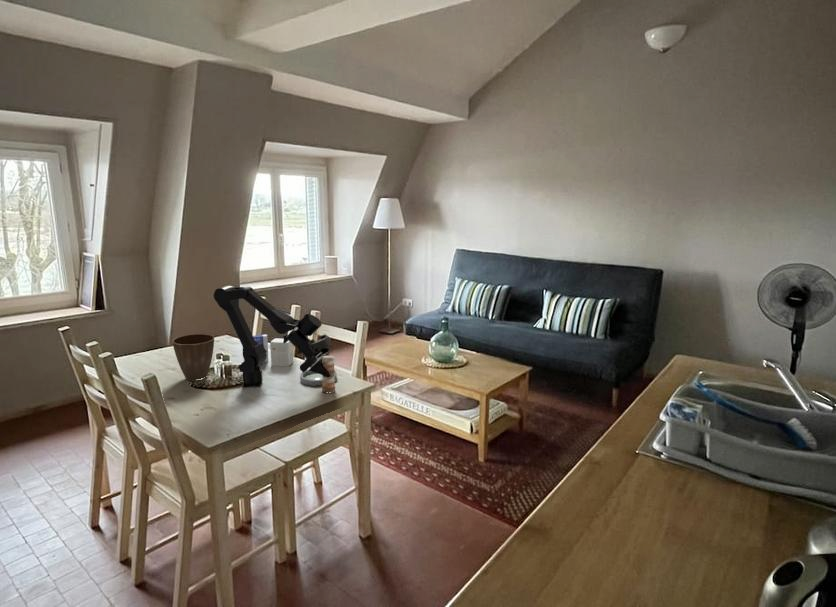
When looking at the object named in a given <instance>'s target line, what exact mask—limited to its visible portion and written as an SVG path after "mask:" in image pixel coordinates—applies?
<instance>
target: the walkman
mask: <svg viewBox="0 0 836 607" xmlns="http://www.w3.org/2000/svg"><path fill="white" fill-rule="evenodd" d="M252 336H253V338H254V340H255V341H256V342H257V343H258V344H260V343H263V345H264V348H265V350H266V351H267V352H266V354H267V357H266V360H265V361H264V362H263V363H268V362H269V347H268V346H269V338H268V334H258V335H252Z"/></svg>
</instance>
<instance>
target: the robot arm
mask: <svg viewBox="0 0 836 607" xmlns="http://www.w3.org/2000/svg"><path fill="white" fill-rule="evenodd" d="M213 299H214V301H215V302H216V304H217V305H218V307H219V308H221V309H222V311H224V312H225V313H226V315H227V316H228V319H229V322H230V323H231V325H232V327H233V329H234V331H235V333H236V335H237V337H238V340H239V342H240V344H241V346H242V358H243V361H242V362H241V364H240V365H239V366H238V369H239V372H240V373H242V386H241V387H243V388H246V387H247V388H248V387H249V388H250V387H252V388H253V387H261V385H262V383H263V380H264V379H263V378H264V377H263V370H261V367H262V366H263V363H265V362H264V361H265V360H266V357H267V354H266V352H267V351H266V350H265V348H264V345H263V343H260V344H258V343H257V342H256V341H255V340H254V338H253V336H254V335H253V333H252V331H251V330H250V327H249V326H248V323H247V321H246V319H245V317H244V314H243V313H242V311H241V308H240V300H244V301H245V302H247V303H248V304H249V305H250V306H251V307H252V308H254V309H256V310H257V311H258V312H259V313H260V314H261V315H262V316H263V317H265V318H266V319H267V320H268V322H269V323H270V324H269V325H270V326H271V327H272V328H273V330H274V331H275V332H276V333H277V334H280V335H283V339H284V340H283V343H286V342H288V341H290V342H291V343H292V344H293V346H294V348H295V349H296V350H297V355H302V356H303V357H304V359H305V360H304V361H303V362H302V363H301V364H300V365H299V370H300V371H301V373H302V372H303V373H304V372H305V371H307V370H308V371H312V372H315V373H318V374H321V375H323V376H326V377H330V376H331V375H330V374H329V372H328V371H327V370H326V368H325V367H324V366H323V364H322V357H324V356H330V352H331V350H332V348H333V347H332V346H331V345H332V342H331V337H329V335H327V334H326V333H324V334H322V335H321V336H320V339H318V340H315V339H313V338H312V339H310V338H309V337H311V336H312V335H313V334H315V332H317V330H319V329H320V328H321V327H322V325H323V323H322V321H321V320H320V319H319V318H318V317H317V316H315V315H313V314H311V313H310V312H307V313H306V314H305V315H304V316H303V317H302V318H301V319H297V318H293V316H291V315H289V314H288V313H286V312H285V311H281V310H279V309H277V308H276V307H275V306H273V305H272V304H271V303H270V302H268V301H267V300H266V299H265V298H263V297H262V296H261V295H260V294H258V292H256V291H255V290H254V288H253V287H251V286H237V287H236V286H235V287H234V286H232V285H228V284H227V285H225V286H221V287H218V288H216V289H215V291H214V292H213ZM295 329H296V330H295ZM287 333H288V334H287ZM335 370H336V369H334V372H335Z"/></svg>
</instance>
